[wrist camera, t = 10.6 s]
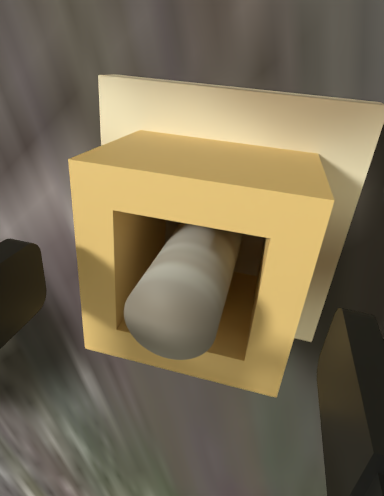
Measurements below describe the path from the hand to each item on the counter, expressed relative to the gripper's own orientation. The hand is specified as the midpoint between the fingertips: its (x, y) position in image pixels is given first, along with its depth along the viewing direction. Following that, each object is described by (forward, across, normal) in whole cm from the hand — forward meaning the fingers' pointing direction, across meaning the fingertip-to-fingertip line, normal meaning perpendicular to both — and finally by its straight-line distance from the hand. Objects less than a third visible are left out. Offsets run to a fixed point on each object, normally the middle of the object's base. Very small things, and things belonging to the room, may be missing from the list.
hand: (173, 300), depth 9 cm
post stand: (+7, 0, 0) cm, 7 cm away
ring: (+6, 0, 0) cm, 6 cm away
